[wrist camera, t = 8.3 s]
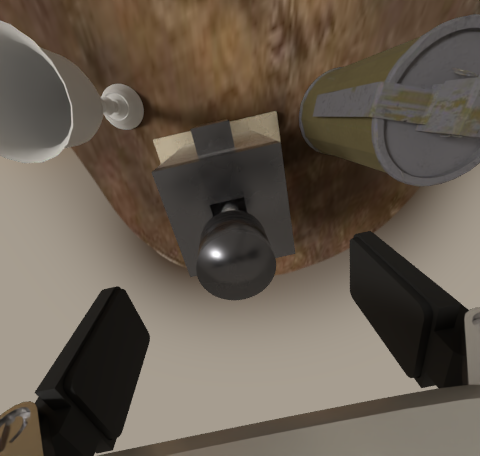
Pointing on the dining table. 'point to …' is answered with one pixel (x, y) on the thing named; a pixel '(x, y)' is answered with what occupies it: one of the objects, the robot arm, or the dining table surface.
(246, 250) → the plunger
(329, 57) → the dining table surface
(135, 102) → the chalice
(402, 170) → the canister
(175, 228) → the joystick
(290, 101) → the dining table surface
